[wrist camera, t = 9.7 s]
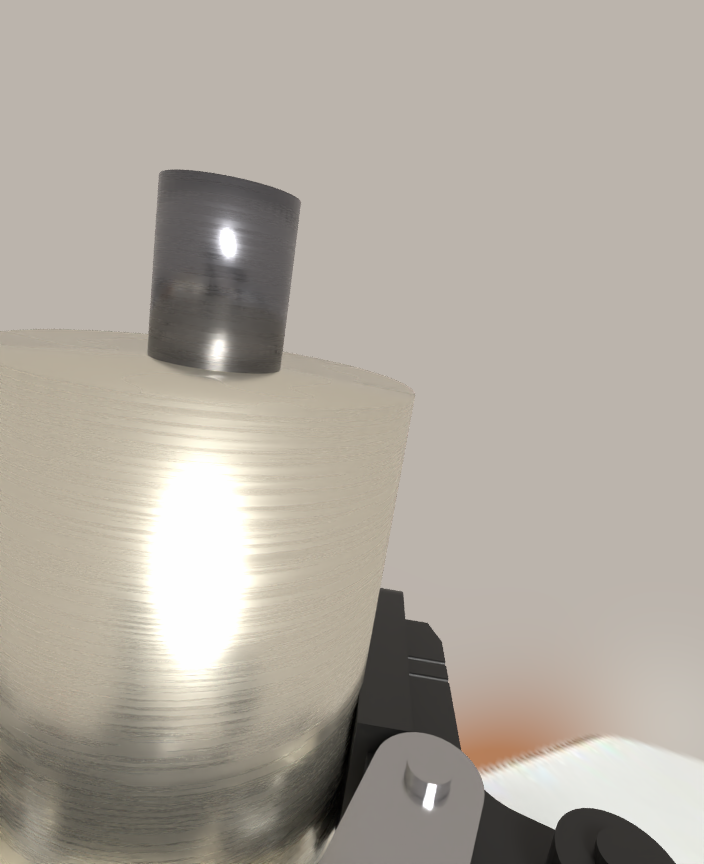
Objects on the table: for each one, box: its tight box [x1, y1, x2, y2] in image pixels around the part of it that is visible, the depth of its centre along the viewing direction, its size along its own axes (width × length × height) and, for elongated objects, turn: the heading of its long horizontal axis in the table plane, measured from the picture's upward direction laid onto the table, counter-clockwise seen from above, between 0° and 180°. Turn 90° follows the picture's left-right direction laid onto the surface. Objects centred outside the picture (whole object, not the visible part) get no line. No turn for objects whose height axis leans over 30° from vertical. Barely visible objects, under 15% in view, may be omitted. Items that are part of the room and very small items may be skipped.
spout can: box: [0, 170, 415, 864], centre depth 8 cm, size 5×5×14 cm
